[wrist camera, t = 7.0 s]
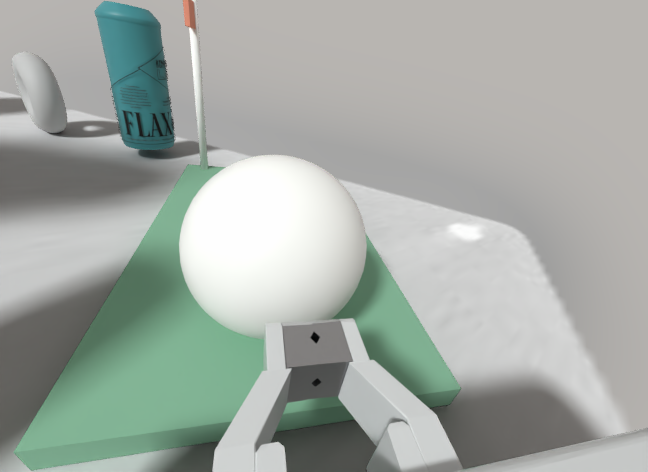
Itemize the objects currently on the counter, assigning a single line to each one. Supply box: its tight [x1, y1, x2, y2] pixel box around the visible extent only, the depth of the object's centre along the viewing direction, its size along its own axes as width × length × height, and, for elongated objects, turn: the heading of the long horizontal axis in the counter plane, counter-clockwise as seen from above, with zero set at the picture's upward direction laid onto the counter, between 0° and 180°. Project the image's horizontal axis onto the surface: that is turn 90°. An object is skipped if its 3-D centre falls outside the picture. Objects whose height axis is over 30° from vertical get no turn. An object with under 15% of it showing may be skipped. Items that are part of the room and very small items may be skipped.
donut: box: [12, 52, 67, 133], centre depth 38 cm, size 10×4×10 cm, turn 50°
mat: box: [14, 0, 461, 470], centre depth 20 cm, size 30×18×18 cm, turn 12°
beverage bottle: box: [95, 1, 176, 150], centre depth 34 cm, size 6×7×20 cm
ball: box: [179, 155, 367, 339], centre depth 14 cm, size 9×9×9 cm
